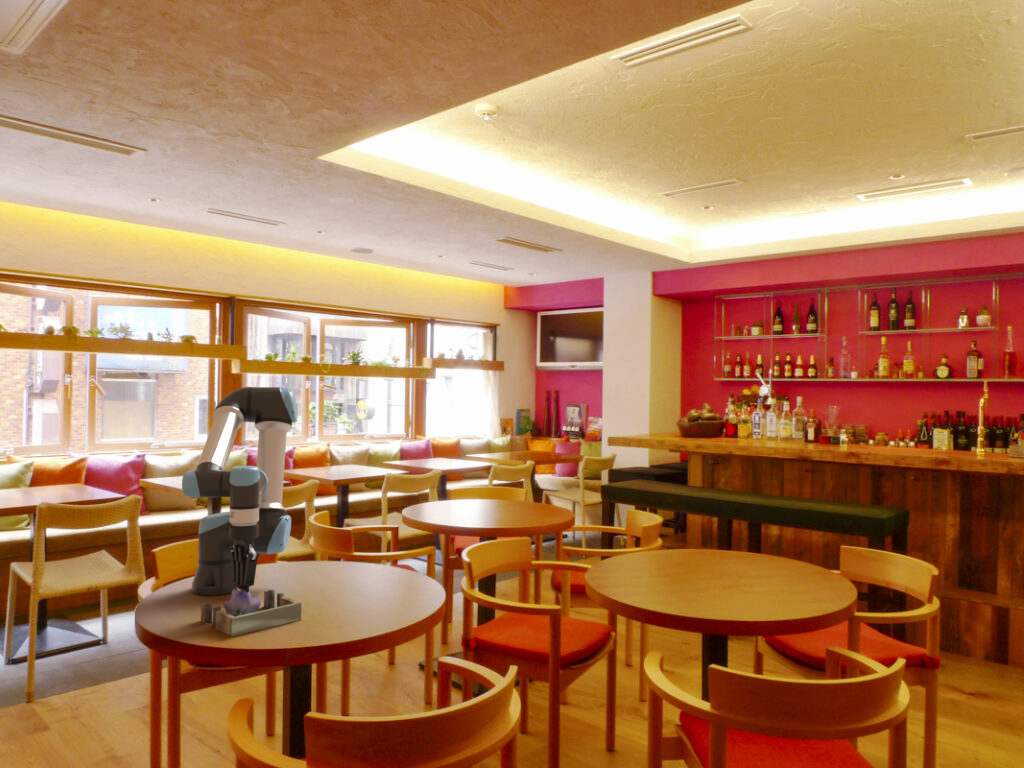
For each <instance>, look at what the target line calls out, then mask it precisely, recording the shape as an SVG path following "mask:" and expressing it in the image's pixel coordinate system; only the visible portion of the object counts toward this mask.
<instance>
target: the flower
mask: <svg viewBox="0 0 1024 768" xmlns="http://www.w3.org/2000/svg"><path fill="white" fill-rule="evenodd" d="M240 590H241V589H240ZM261 603H262V601H261V600H260V599H259V598H258V596H256V598H255V597H253V598H252V592H251V591H249V592H248V593H247V592H246V591H243V590H241V592H239V591H236V589H234V590H232V593H231V594H230V599H229V600H225V601H223V607H224V609H225V612H226V613H228V614H230V615H232V616H234V617H236V616H241V615H245V614H249V613H254V612H258V611H259V609H260V606H261Z"/></svg>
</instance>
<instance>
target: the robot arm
mask: <svg viewBox="0 0 1024 768" xmlns="http://www.w3.org/2000/svg"><path fill="white" fill-rule="evenodd" d="M212 422H213V423H212V425H211V428H210V431H209V434H208V435H207V439H206V441H205V444H204V447H203V449H202V452H201V454H200V456H199V461H198V463H197V465H196V468H195V469H192V470H186V472H184V473H183V475H182V479H181V490H182V493H183V495H184V496H185V497H186V498H198V499H202V498H229V511H223V512H217V513H213V514H209V515H206V516H203V517H202V518H201V519H200V521H199V525H198V565H197V568H196V571H195V574H194V577H193V580H192V582H191V592H192V594H194V593H195V594H194V595H198V594H200V596H219V595H227V594H232V590H234V589H236V591H239V592H241V590H243V591H246V592H247V593H248V592H250V587H253V586H254V585H255V580H256V572H257V564H258V559H259V557H260V555H264V554H265V555H272V554H280V553H282V552H284V551H285V550H286V549H287V546H288V543H289V539H290V536H291V535H290V534H291V530H292V517H291V516H290V515H288V514H287V509H286V508H285V507H284V505H283V495H284V493H283V491H284V479H285V478H284V477H285V462H286V461H285V460H286V447H287V433H288V432H289V431H290V430H291V429H292V427H293V424H296V423H297V422H298V406H297V399H296V395H295V392H294V390H293V389H292V388H291V387H281V386H275V387H274V386H273V387H271V386H266V387H265V386H263V387H262V386H258V387H257V386H243V387H240V388H238V389H234V390H233V391H231V392H229V393H228V394H227V395H225V396H224V397H223V398H222V399H221V400H220V401H219V402H218V404H217V405H216V406H215V408H214V410H213V413H212ZM244 423H254V428H255V429H256V430H257V431H258V440H257V442H258V444H257V453H256V466H255V465H236V466H234V467H232V468H231V469H229V470H226V467H227V463H228V462H229V457H230V455H231V451H232V449H233V445H234V442H235V439H236V437H237V433H238V431H239V429H240V428H242V426H243V425H244ZM240 589H241V590H240Z"/></svg>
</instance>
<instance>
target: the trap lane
mask: <svg viewBox="0 0 1024 768" xmlns="http://www.w3.org/2000/svg"><path fill="white" fill-rule="evenodd" d="M275 591H276V590H275V589H268V590H264V591H263V607H264V608H266V607H267V608H266V609H263V610H257V612H254V613H249V614H245V615H241V616H236V617H234V616H232V615H230V614H228V613H227V612H226V611H224V610H221V609H222V608H221V607H222V606H213V603H212V602H206V603H201V604H200V622H202V621H204V622H203V623H204V624H205V623H210V624H212V629H216V628H217V629H216V630H218V629H219V630H218V631H220V630H221V631H220V632H222V631H223V633H224V634H226V635H228V636H230V637H232V638H233V637H236V636H240V635H245V634H248V632H249V633H252V631H253V632H257V631H261V630H265V629H269V628H273V627H277V626H281V625H285V624H288V623H289V624H290V623H292V622H293V623H294V622H298V621H301V620H302V602H300V601H298V600H294V599H292V598H289V597H287V596H285V593H284V592H279V593H277V594H275V593H276V592H275ZM275 598H276V601H275ZM275 603H276V604H275ZM275 605H276V607H275ZM260 629H261V630H260ZM256 630H257V631H256Z"/></svg>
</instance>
